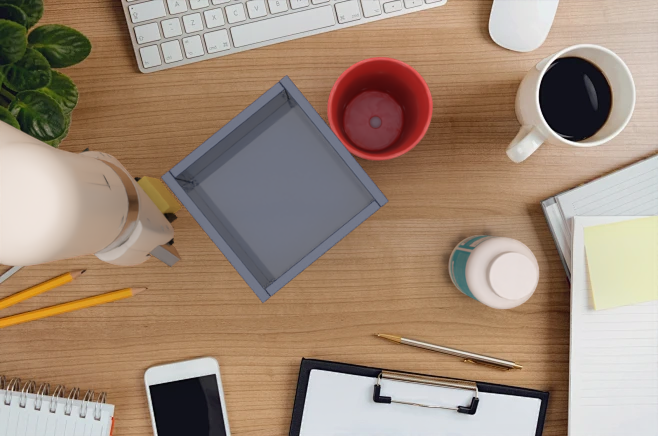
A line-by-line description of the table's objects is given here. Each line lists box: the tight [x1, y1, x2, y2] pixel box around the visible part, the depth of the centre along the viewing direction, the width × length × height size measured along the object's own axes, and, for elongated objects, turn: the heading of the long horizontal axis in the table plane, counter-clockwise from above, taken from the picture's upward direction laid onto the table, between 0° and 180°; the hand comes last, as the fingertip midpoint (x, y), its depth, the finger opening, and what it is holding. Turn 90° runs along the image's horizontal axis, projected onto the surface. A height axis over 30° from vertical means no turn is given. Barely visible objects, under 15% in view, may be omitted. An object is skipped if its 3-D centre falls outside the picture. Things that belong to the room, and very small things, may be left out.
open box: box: [160, 74, 390, 304], centre depth 50 cm, size 13×13×5 cm
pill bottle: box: [448, 234, 540, 310], centre depth 66 cm, size 8×7×14 cm
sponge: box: [137, 175, 183, 215], centre depth 63 cm, size 4×5×6 cm
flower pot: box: [326, 56, 434, 162], centre depth 67 cm, size 11×11×10 cm
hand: (150, 207), depth 65 cm, fingers closed on sponge, 4 cm apart
